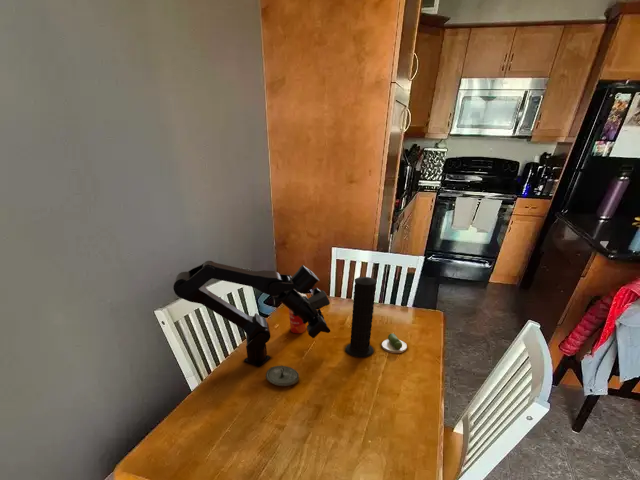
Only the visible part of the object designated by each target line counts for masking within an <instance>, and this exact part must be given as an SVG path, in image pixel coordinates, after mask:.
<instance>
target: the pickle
mask: <svg viewBox="0 0 640 480" xmlns="http://www.w3.org/2000/svg"><path fill="white" fill-rule="evenodd" d="M381 348H382V349H383V350H384V351H385V352H387V353H392V354H401V353H404V352H406V351H407V349H408V345H407V343H406V342H405V341H404V340H401V339H399V337H398V335H396V334H395V333H393V332H391V333H389V334H388V335H387V338H386V339H384V340H383V341H382V342H381Z"/></svg>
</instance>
